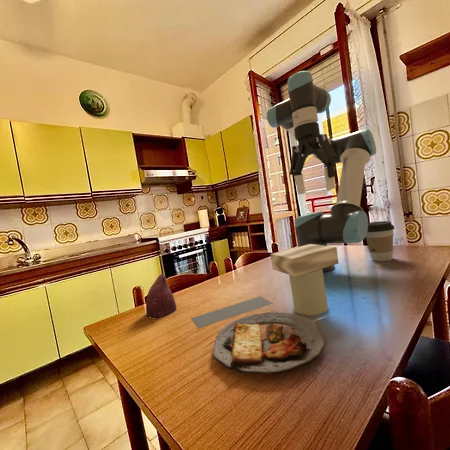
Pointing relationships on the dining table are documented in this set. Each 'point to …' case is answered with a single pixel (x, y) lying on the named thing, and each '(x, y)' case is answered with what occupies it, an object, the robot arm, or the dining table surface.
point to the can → (309, 293)
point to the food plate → (267, 343)
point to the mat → (229, 311)
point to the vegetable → (160, 299)
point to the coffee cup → (380, 240)
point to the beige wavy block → (304, 259)
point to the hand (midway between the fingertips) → (315, 191)
